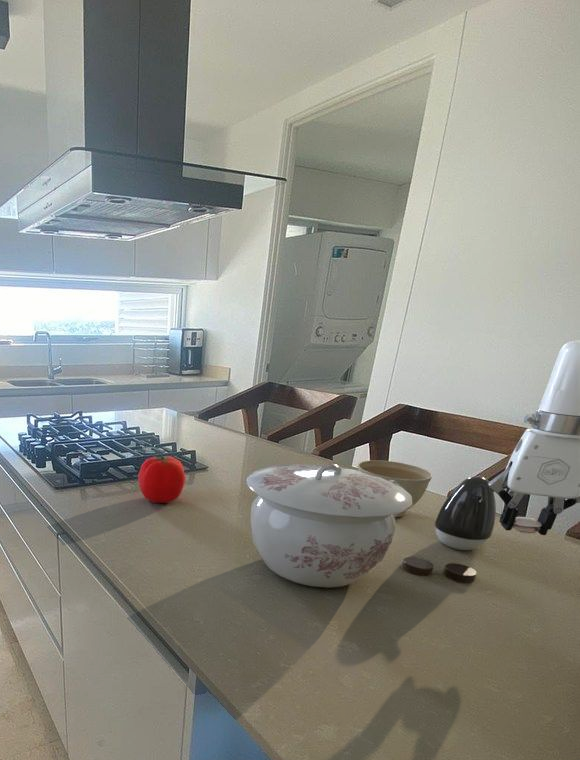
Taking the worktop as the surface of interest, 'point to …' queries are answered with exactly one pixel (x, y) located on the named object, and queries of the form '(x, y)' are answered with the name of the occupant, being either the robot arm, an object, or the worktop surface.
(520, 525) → the macaroon
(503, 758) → the worktop surface
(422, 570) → the far disc
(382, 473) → the planter bowl
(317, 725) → the worktop surface
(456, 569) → the middle disc
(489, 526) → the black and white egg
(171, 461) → the tomato
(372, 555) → the chamber pot
